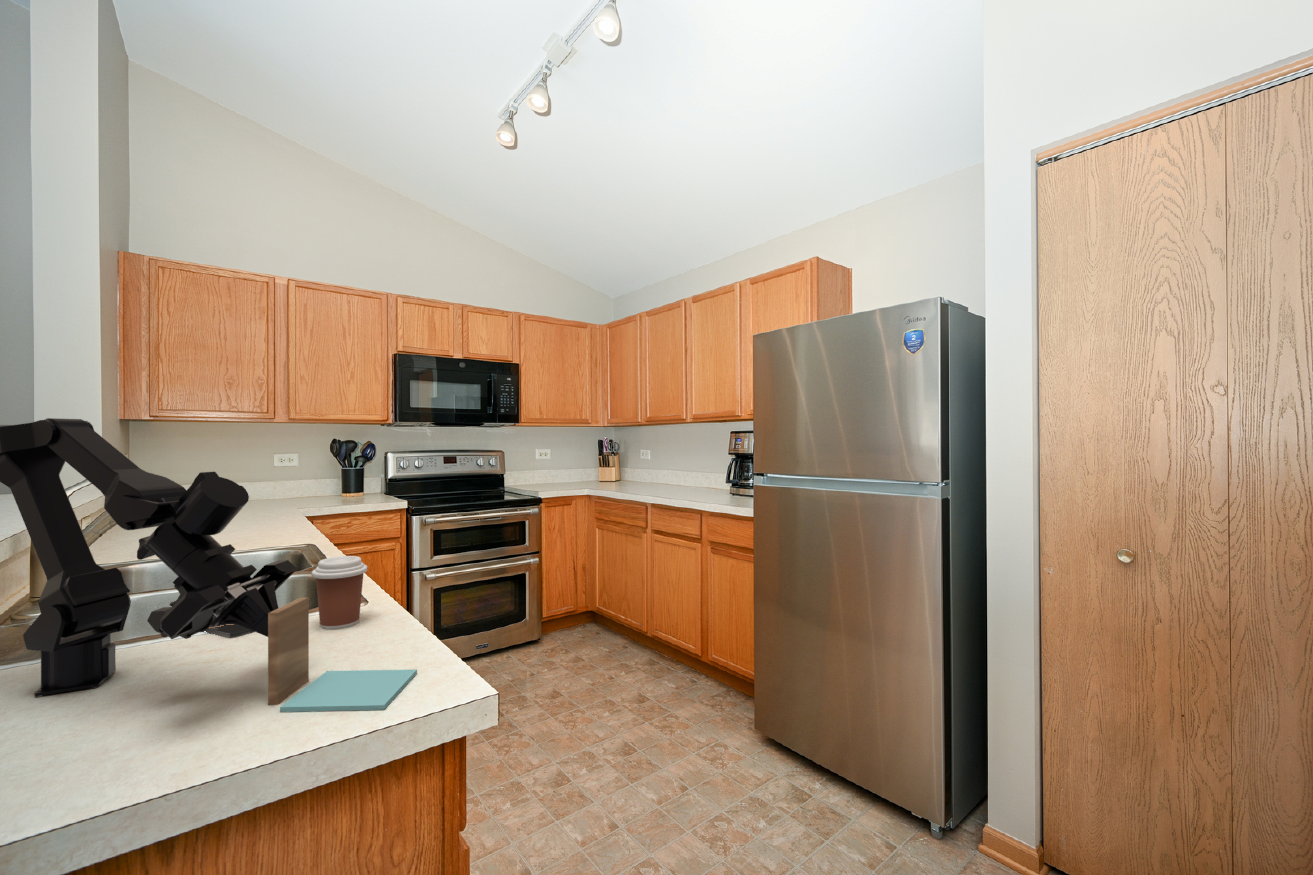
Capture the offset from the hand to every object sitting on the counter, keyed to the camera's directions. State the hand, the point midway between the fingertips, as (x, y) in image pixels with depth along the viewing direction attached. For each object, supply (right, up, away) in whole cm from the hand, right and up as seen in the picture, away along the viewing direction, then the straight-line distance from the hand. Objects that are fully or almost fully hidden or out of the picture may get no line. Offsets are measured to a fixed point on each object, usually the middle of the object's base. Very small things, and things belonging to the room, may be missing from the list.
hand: (281, 637), depth 76 cm
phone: (-28, -8, +27) cm, 40 cm away
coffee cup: (-8, -8, +28) cm, 31 cm away
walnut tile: (+1, -8, 0) cm, 8 cm away
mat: (+9, -8, +1) cm, 12 cm away
